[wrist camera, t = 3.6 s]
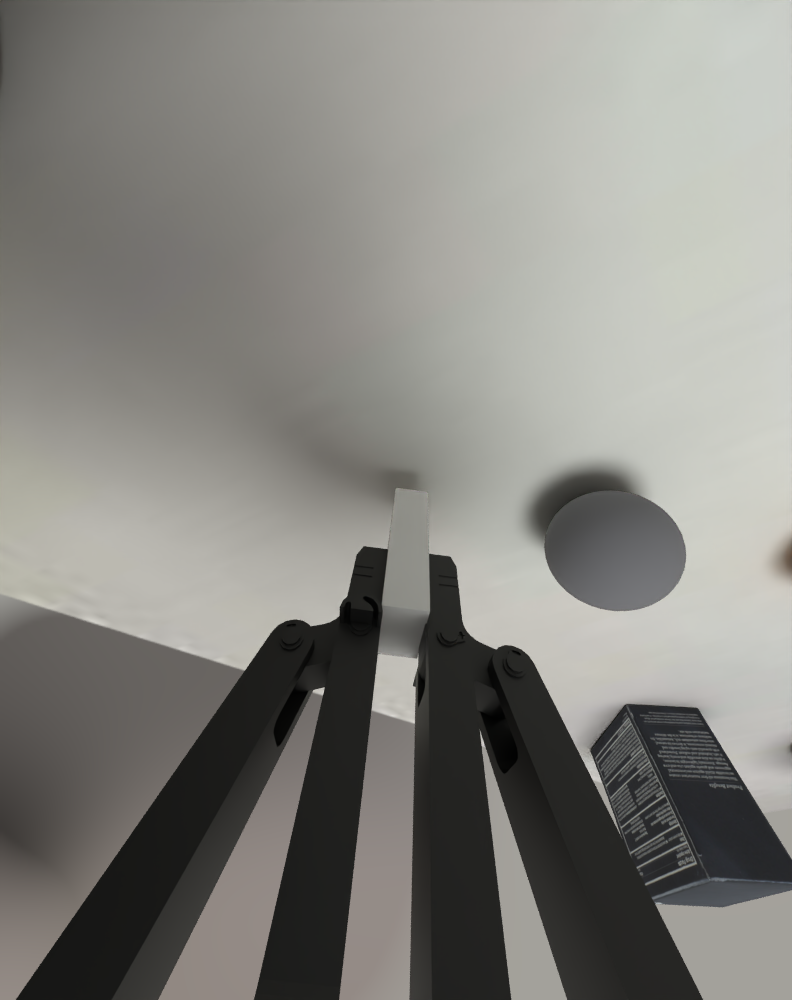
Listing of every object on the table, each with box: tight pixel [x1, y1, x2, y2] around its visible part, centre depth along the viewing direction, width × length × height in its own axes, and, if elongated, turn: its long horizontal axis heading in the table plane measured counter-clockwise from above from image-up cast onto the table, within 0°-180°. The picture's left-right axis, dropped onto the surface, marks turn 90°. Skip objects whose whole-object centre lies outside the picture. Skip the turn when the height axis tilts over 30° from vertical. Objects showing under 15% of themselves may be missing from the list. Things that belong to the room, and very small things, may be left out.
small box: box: [591, 705, 792, 907], centre depth 28 cm, size 11×6×10 cm, turn 2°
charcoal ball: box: [544, 490, 686, 611], centre depth 16 cm, size 6×6×6 cm
